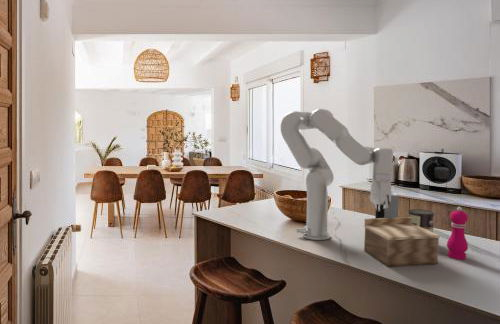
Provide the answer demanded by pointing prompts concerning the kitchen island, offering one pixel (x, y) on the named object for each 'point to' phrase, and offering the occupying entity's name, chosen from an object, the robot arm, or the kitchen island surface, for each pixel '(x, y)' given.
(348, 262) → the kitchen island surface
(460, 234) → the pepper mill
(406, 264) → the walnut box
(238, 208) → the kitchen island surface
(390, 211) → the hard drive box
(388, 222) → the box lid
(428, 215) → the coffee can
